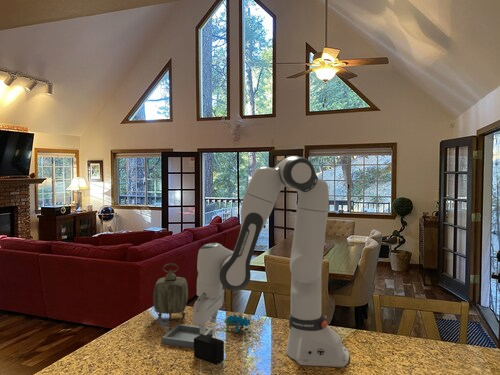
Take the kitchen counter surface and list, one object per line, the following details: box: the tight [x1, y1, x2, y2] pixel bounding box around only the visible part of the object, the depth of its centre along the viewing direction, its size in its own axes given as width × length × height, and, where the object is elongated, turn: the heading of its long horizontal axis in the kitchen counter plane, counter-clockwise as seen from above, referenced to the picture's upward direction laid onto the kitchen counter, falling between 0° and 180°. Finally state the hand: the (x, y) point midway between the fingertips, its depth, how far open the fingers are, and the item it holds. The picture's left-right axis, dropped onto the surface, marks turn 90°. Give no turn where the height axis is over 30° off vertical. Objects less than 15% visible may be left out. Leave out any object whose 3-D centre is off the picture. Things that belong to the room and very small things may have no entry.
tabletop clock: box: [152, 262, 189, 322], centre depth 168 cm, size 14×9×25 cm, turn 94°
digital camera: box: [193, 334, 225, 366], centre depth 134 cm, size 10×5×7 cm, turn 57°
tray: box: [161, 323, 214, 350], centre depth 148 cm, size 15×13×2 cm
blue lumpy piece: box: [223, 314, 251, 334], centre depth 156 cm, size 11×6×10 cm
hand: (208, 327), depth 133 cm, fingers open, 8 cm apart
